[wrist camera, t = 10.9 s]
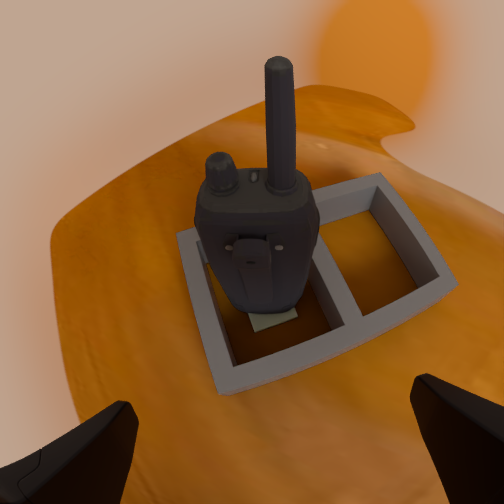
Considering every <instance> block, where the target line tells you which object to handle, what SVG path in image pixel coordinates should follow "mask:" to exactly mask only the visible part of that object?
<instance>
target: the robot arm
mask: <svg viewBox="0 0 504 504" xmlns="http://www.w3.org/2000/svg"><path fill="white" fill-rule="evenodd" d="M410 402H411V405H412V408H413V410H414V413H415V416H416V419H417V423H418V426H419V429H420V432H421V435H422V437H423V440H424V442H425V444H426V447H427V449H428V451H429V453H430V456H431V458H432V460H433V463H434V465H435V467H436V470H437V472H438V475H439V477H440V480H441V482H442V485H443V487H444V490H445V492H446V495H447V498H448V500H449V503H450V504H504V406H501V405H499V404H496V403H494V402H492V401H489V400H487V399H484V398H482V397H480V396H477V395H475V394H473V393H471V392H468V391H466V390H464V389H461V388H459V387H457V386H455V385H452V384H450V383H448V382H446V381H444V380H441V379H439V378H437V377H435V376H433V375H430V374H428V373H425V374H422V375H419V376H416V378H415V379H414V383H413V386H412V390H411V393H410ZM138 426H139V421H138V417H137V415H136V413H135V411H134V409H133V407H132V405H131V404H130V403H129V402H127V401H120V400H119V401H116V402H114V403H113V404H111V405H110V406H108V407H107V408H105V409H104V410H102V411H101V412H99V413H98V414H96V415H95V416H93V417H91V418H90V419H88V420H87V421H85V422H84V423H82V424H80V425H79V426H77V427H76V428H74V429H72V430H71V431H69V432H68V433H66V434H64V435H63V436H61V437H59V438H58V439H56V440H54V441H53V442H51V443H49V444H48V445H46V446H44V447H43V448H42V449H39V450H38V451H36V452H34V453H32V454H31V455H28V456H27V457H25V458H23V459H21V460H18V461H16V462H14V463H12V464H10V465H7V466H4V467H2V468H0V504H120V501H121V497H122V494H123V490H124V487H125V483H126V480H127V476H128V473H129V470H130V466H131V463H132V458H133V453H134V447H135V442H136V436H137V431H138Z"/></svg>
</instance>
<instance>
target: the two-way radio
mask: <svg viewBox="0 0 504 504" xmlns="http://www.w3.org/2000/svg"><path fill="white" fill-rule="evenodd" d="M293 79H294V78H293V65H292V63H291V62H290V61H289V60H288V59H287V58H285V57H282V56H275V57H272V58H270V59H268V60H267V62H266V64H265V108H266V142H267V168H244V169H236V166H235V164H234V162H233V160H232V157H231V156H230V155H229V154H227V153H225V152H216V153H213V154H211V155H210V156H209V157H208V158H207V159H206V163H205V167H206V179H205V180H204V182H203V183H202V185H201V187H200V190H199V193H198V195H197V201H196V210H195V217H194V224H195V227H196V230H197V232H198V235H199V237H200V240H201V243H202V246H203V249H204V252H205V254H206V257H207V259H208V261H209V264H210V266H211V268H212V270H213V272H214V274H215V276H216V277H217V279H218V281H219V283H220V284H221V286H222V288H223V290H224V291H225V293H226V295H227V297H228V298H229V300H230V302H231V303H232V305H233V306H234V307H235V308H236V309H238V310H239V311H242V312H246V313H253V314H277V313H284V312H287V311H289V310H291V309H293V308H294V307H295V306H296V303H297V302H298V300H299V299H300V298H301V296H302V294H303V290H304V287H305V284H306V281H307V278H308V274H309V269H310V265H311V260H312V255H313V251H314V248H315V246H316V243H317V238H318V233H319V225H320V214H319V211H318V208H317V207H316V203H315V199H314V196H313V193H312V189H311V185H310V182H309V181H308V179H307V178H306V176H305V175H304V174H303V173H302V172H300V171H298V170H296V119H295V96H294V80H293Z"/></svg>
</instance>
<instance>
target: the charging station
mask: <svg viewBox="0 0 504 504" xmlns="http://www.w3.org/2000/svg"><path fill="white" fill-rule="evenodd" d="M312 193H313V196H314V199H315V203H316V207H317V208H318V211H319V214H320V225H323V224H326V223H329V222H332V221H335V220H338V219H341V218H345V217H348V216H351V215H354V214H357V213H360V212H363V211H366V210H369V211H370V212H371V213H372V215H373V216H374V218H375V219H376V221H377V222H378V224H379V225H380V227H381V228H382V230H383V231H384V233H385V234H386V236H387V237H388V239H389V240H390V242H391V243H392V245H393V247H394V248H395V250H396V251H397V253H398V255H399V256H400V258H401V259H402V261H403V263H404V264H405V266H406V268H407V269H408V271H409V273H410V275H411V276H412V278H413V280H414V282H415V283H416V285H417V287H418V289H417V290H415V291H413V292H411V293H409V294H408V295H406V296H404V297H402V298H400V299H398V300H396V301H394V302H392V303H390V304H388V305H386V306H384V307H382V308H380V309H378V310H376V311H374V312H372V313H370V314H368V315H366V316H364V317H363V315H362V313H361V311H360V309H359V307H358V305H357V303H356V301H355V299H354V297H353V295H352V293H351V291H350V290H349V288H348V286H347V284H346V282H345V280H344V278H343V276H342V274H341V272H340V270H339V269H338V267H337V265H336V263H335V261H334V259H333V257H332V256H331V254H330V252H329V250H328V248H327V246H326V245H325V243H324V241H323V239H322V238H321V236H320V234H319V233H318V238H317V243H316V246H315V248H314V251H313V255H312V260H311V265H310V269H309V274H308V281H309V283H310V285H311V287H312V289H313V291H314V293H315V295H316V298H317V300H318V302H319V304H320V306H321V308H322V310H323V313H324V315H325V317H326V319H327V321H328V324H329V326H330V328H331V330H332V331H330V332H328V333H325V334H323V335H321V336H318V337H316V338H313V339H311V340H308V341H306V342H303V343H301V344H298V345H295V346H293V347H290V348H288V349H285V350H282V351H279V352H277V353H274V354H271V355H268V356H265V357H262V358H260V359H257V360H254V361H251V362H248V363H245V364H242V365H237V362H236V359H235V356H234V353H233V350H232V347H231V344H230V341H229V338H228V335H227V332H226V329H225V326H224V322H223V319H222V316H221V313H220V310H219V306H218V303H217V300H216V296H215V293H214V290H213V286H212V283H211V279H210V276H209V273H208V269H207V266H206V263H208V262H209V261H208V259H207V257H206V254H205V252H204V249H203V246H202V243H201V240H200V237H199V235H198V232H197V230H196V227H193V228H190V229H187V230H184V231H181V232H178V233H176V236H177V241H178V245H179V250H180V255H181V259H182V264H183V268H184V272H185V277H186V281H187V285H188V289H189V293H190V297H191V301H192V305H193V309H194V313H195V317H196V320H197V324H198V328H199V332H200V335H201V339H202V342H203V346H204V349H205V353H206V356H207V359H208V363H209V366H210V369H211V373H212V376H213V379H214V382H215V385H216V388H217V392H218V394H220V395H226V396H229V395H232V394H236V393H239V392H242V391H246V390H249V389H252V388H255V387H258V386H261V385H264V384H267V383H270V382H273V381H276V380H278V379H281V378H284V377H287V376H289V375H292V374H295V373H297V372H300V371H302V370H305V369H307V368H310V367H312V366H315V365H317V364H320V363H322V362H324V361H327V360H329V359H331V358H334V357H336V356H338V355H340V354H342V353H345V352H347V351H349V350H351V349H353V348H355V347H357V346H360V345H362V344H364V343H366V342H368V341H370V340H372V339H374V338H376V337H378V336H380V335H381V334H383V333H385V332H387V331H389V330H391V329H393V328H395V327H396V326H398V325H400V324H402V323H404V322H405V321H407V320H409V319H411V318H412V317H414V316H416V315H418V314H419V313H421V312H423V311H424V310H426V309H428V308H429V307H431V306H432V305H434V304H436V303H437V302H439V301H440V300H441V299H442V298H444V297H445V296H446V295H447V294H448V293H450V292H451V291H452V290H453V289H454V288H455V287H456V286H458V285H459V284H458V282H457V281H456V279H455V277H454V275H453V274H452V272H451V270H450V269H449V267H448V265H447V264H446V262H445V260H444V259H443V257H442V255H441V254H440V252H439V251H438V249H437V248H436V246H435V245H434V243H433V242H432V240H431V238H430V237H429V236H428V234H427V233H426V231H425V230H424V228H423V227H422V225H421V224H420V223H419V221H418V220H417V218H416V217H415V216H414V214H413V213H412V212H411V210H410V209H409V207H408V206H407V205H406V204H405V202H404V201H403V200H402V198H401V197H400V196H399V194H398V193H397V192H396V191H395V189H394V188H393V187H392V186H391V184H390V183H389V182H388V181H387V180H386V178H385V177H384V176H383V175H382V174H381V173H380V172H379V173H376V174H372V175H368V176H364V177H360V178H356V179H352V180H348V181H345V182H341V183H337V184H334V185H330V186H326V187H323V188H319V189H316V190H312ZM320 225H319V226H320ZM248 315H249V318H250V321H251V323H252V326H253V329H254V332H255V333H256V332H259V331H262V330H265V329H268V328H271V327H273V326H276V325H279V324H282V323H284V322H287V321H290V320H292V319H295V318H298V315H297V313H296V310H295V308H293V309H291V310H289V311H287V312H284V313H277V314H253V313H248Z"/></svg>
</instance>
